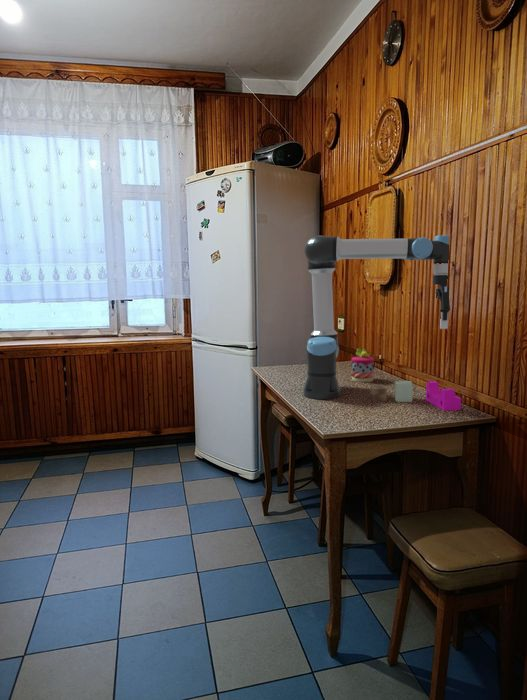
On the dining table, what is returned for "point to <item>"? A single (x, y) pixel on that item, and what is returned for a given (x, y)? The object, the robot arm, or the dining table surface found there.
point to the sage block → (403, 391)
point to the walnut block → (378, 393)
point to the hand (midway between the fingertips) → (440, 327)
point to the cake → (362, 367)
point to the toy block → (442, 397)
